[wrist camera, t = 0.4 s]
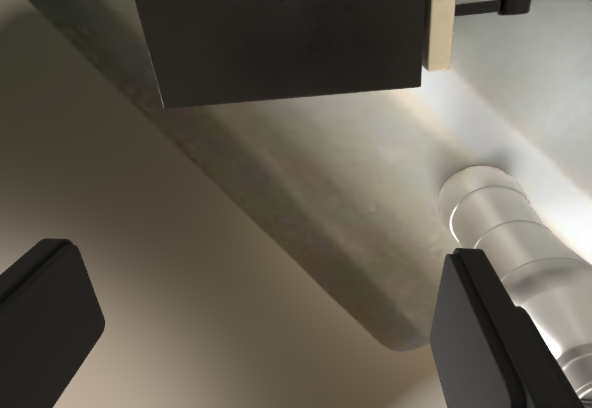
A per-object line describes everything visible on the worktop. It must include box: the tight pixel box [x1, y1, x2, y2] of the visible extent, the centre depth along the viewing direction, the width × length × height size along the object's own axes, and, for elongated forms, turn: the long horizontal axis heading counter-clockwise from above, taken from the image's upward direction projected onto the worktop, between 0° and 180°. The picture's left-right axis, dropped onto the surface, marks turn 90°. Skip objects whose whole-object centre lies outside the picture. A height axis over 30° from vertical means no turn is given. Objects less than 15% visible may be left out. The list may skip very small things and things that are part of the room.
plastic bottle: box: [438, 166, 592, 408], centre depth 25 cm, size 6×7×20 cm
